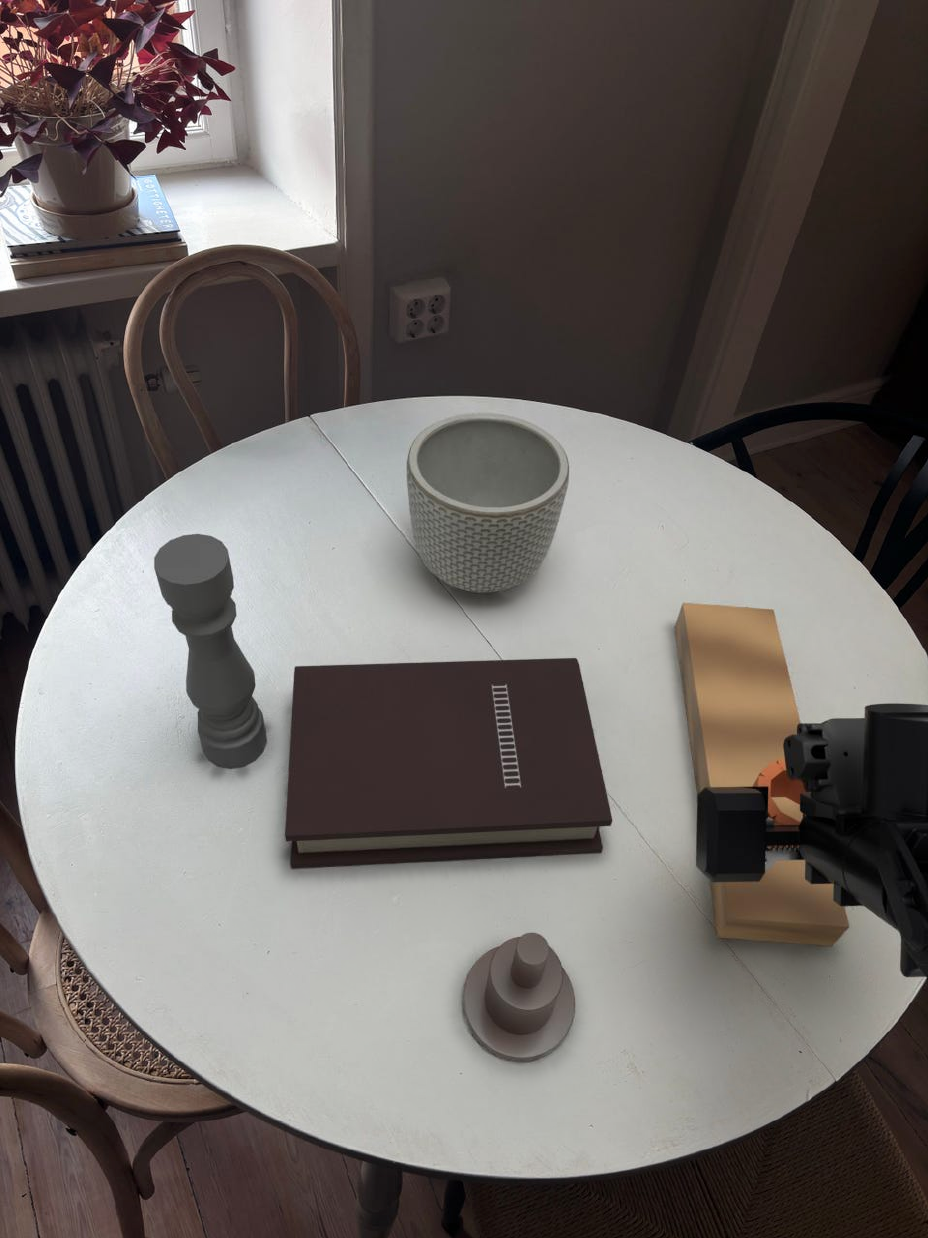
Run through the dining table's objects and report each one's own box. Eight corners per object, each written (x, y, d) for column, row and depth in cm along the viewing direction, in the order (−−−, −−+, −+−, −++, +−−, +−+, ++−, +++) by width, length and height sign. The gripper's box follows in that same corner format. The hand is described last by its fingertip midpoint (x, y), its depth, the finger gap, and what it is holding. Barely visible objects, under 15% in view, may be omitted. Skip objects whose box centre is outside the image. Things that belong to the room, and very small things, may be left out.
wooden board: (832, 946, 78) (849, 927, 75) (717, 937, 78) (729, 918, 75) (762, 633, 102) (773, 609, 99) (674, 626, 102) (682, 602, 99)
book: (567, 684, 96) (575, 648, 91) (601, 853, 83) (612, 820, 78) (299, 693, 93) (294, 657, 89) (291, 868, 80) (285, 836, 76)
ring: (837, 858, 69) (857, 832, 66) (753, 860, 69) (769, 834, 66) (812, 786, 73) (829, 758, 70) (733, 787, 73) (747, 759, 70)
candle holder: (280, 742, 89) (248, 559, 70) (228, 780, 86) (180, 599, 67) (241, 706, 92) (201, 520, 73) (189, 741, 88) (133, 557, 70)
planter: (526, 640, 99) (543, 532, 88) (382, 595, 103) (379, 486, 91) (569, 542, 110) (589, 434, 99) (437, 504, 114) (442, 396, 102)
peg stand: (596, 1011, 73) (621, 958, 65) (514, 1087, 69) (529, 1041, 61) (521, 927, 78) (536, 867, 69) (440, 994, 73) (445, 939, 65)
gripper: (1036, 736, 56) (898, 701, 72) (742, 738, 55) (667, 702, 70) (1029, 912, 57) (894, 839, 72) (738, 918, 55) (665, 843, 71)
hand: (782, 802), depth 71 cm, fingers closed on ring, 6 cm apart
